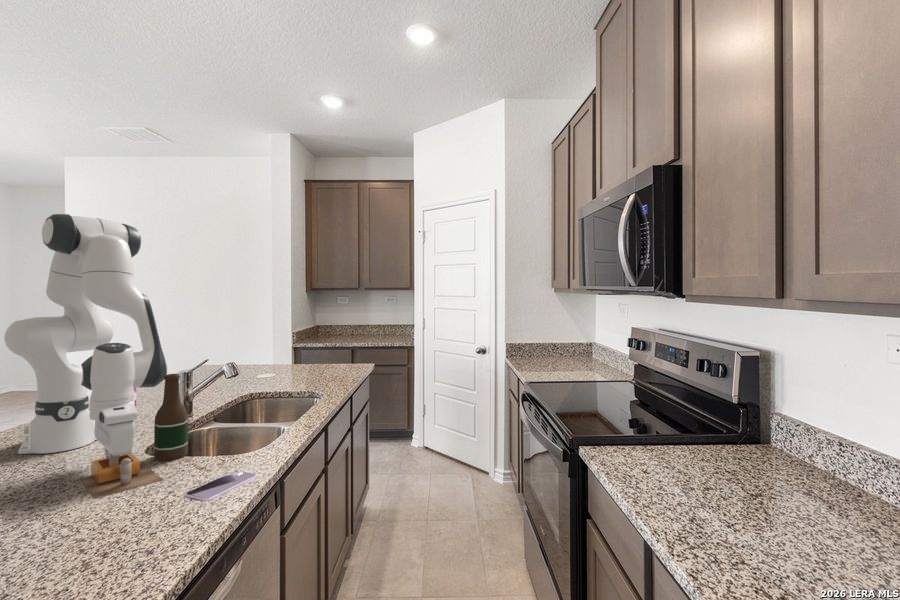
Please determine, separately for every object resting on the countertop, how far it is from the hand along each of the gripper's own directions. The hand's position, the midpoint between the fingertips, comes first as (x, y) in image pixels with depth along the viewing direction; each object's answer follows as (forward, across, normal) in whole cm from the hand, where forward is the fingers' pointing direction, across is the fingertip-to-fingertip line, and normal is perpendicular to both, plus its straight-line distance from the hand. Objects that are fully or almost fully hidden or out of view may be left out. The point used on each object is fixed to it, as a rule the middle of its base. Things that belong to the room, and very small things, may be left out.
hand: (111, 464), depth 107 cm
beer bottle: (+4, -1, +13) cm, 14 cm away
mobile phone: (+4, +25, +16) cm, 30 cm away
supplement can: (+4, -66, +17) cm, 68 cm away
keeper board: (+3, +7, 0) cm, 8 cm away
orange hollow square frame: (+1, +4, 0) cm, 4 cm away
